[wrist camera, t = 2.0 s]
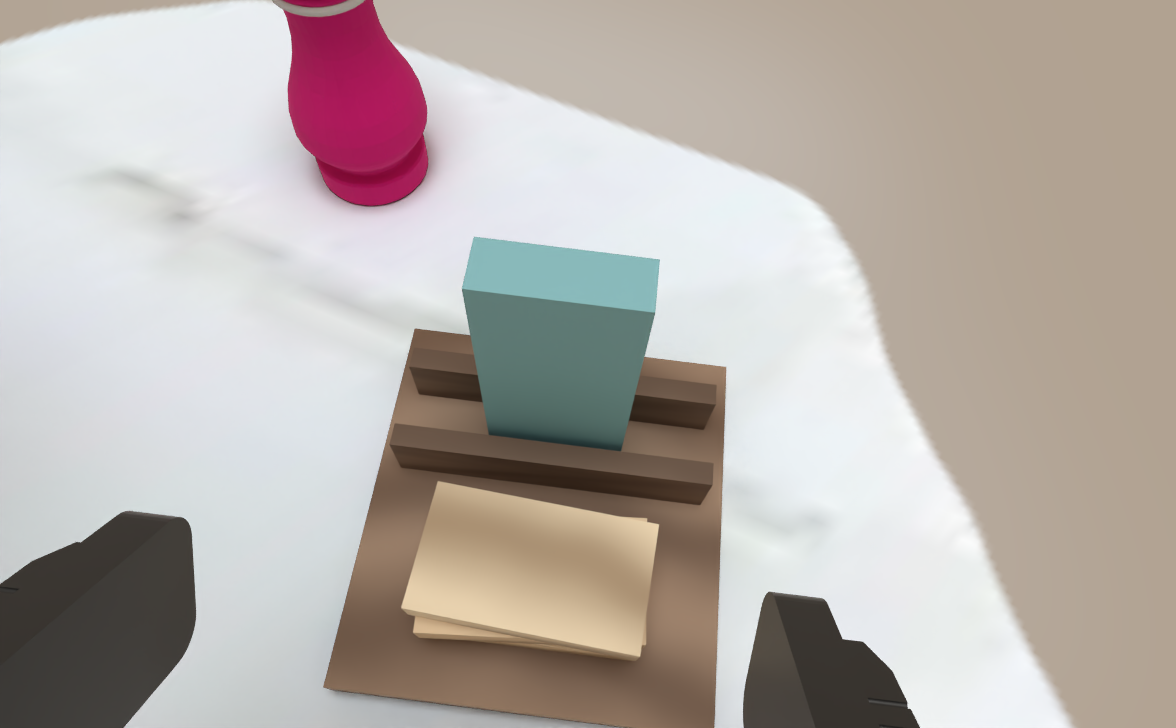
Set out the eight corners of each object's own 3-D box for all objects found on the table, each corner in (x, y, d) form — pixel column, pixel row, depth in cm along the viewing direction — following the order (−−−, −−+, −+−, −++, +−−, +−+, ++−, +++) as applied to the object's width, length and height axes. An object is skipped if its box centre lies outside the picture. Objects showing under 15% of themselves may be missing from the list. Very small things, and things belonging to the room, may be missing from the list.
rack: (707, 738, 32) (729, 736, 28) (332, 690, 32) (301, 681, 28) (720, 380, 40) (739, 338, 36) (419, 342, 40) (405, 297, 36)
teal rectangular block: (617, 465, 36) (655, 312, 23) (491, 450, 36) (462, 288, 23) (621, 427, 36) (659, 259, 24) (498, 411, 37) (473, 236, 24)
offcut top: (635, 661, 29) (640, 656, 28) (407, 614, 29) (401, 608, 28) (654, 534, 31) (659, 524, 30) (442, 492, 32) (437, 481, 30)
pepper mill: (373, 103, 47) (270, -285, 30) (461, 158, 46) (407, -218, 28) (288, 173, 45) (116, -211, 27) (378, 234, 43) (258, -132, 25)
